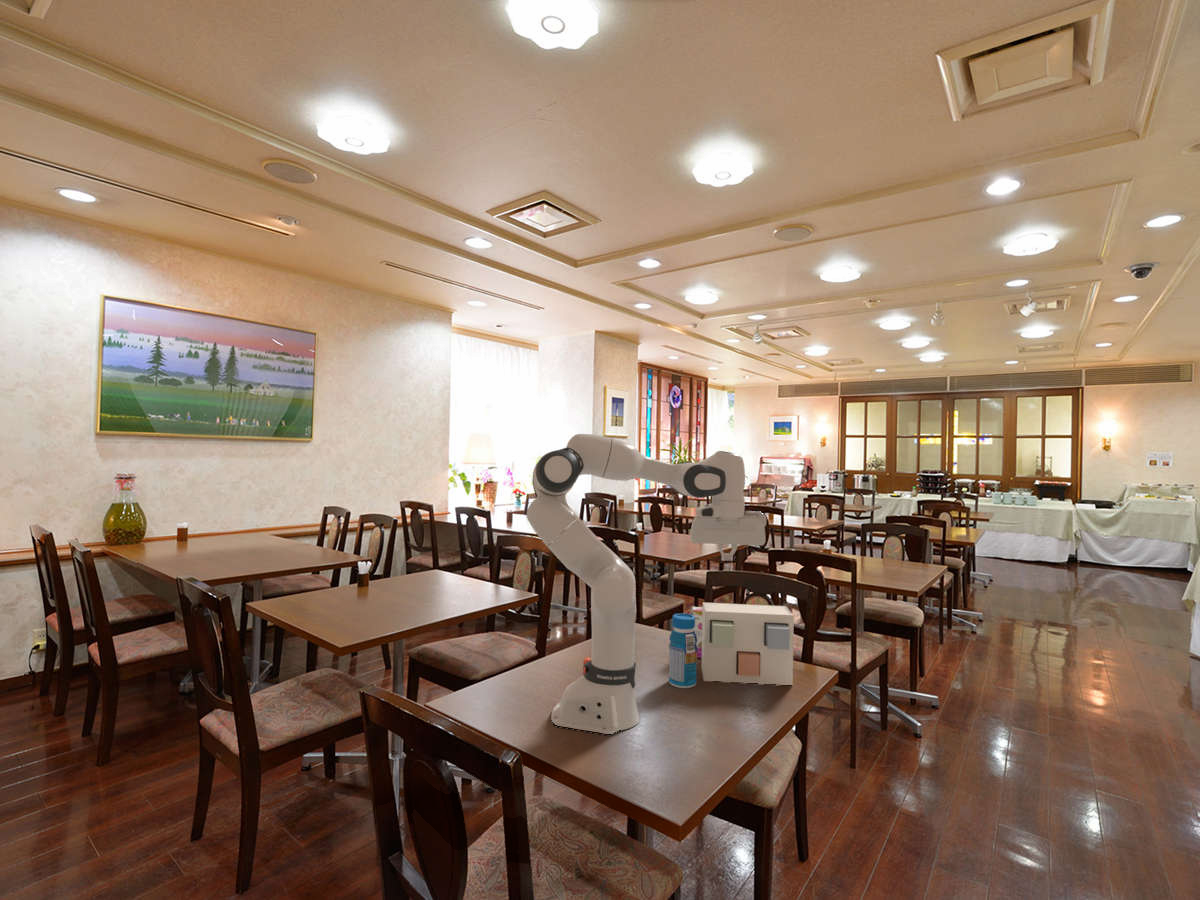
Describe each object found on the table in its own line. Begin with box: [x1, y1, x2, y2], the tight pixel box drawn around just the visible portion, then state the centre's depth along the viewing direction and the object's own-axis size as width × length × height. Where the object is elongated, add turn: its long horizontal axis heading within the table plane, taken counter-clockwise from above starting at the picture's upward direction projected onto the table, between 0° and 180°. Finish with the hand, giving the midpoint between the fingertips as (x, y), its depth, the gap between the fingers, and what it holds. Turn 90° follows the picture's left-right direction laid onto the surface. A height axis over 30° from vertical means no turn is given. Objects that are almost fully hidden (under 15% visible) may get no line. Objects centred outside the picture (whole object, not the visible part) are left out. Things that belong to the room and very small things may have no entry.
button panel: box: [700, 602, 795, 686], centre depth 180 cm, size 26×10×21 cm, turn 84°
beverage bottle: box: [668, 613, 698, 689], centre depth 173 cm, size 8×8×20 cm
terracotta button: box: [736, 651, 760, 676], centre depth 176 cm, size 6×6×6 cm
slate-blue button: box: [765, 622, 790, 650], centre depth 173 cm, size 6×6×6 cm
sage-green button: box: [711, 620, 734, 647], centre depth 174 cm, size 6×6×6 cm
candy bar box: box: [690, 606, 703, 660], centre depth 196 cm, size 11×5×16 cm, turn 84°
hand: (727, 560), depth 161 cm, fingers closed
